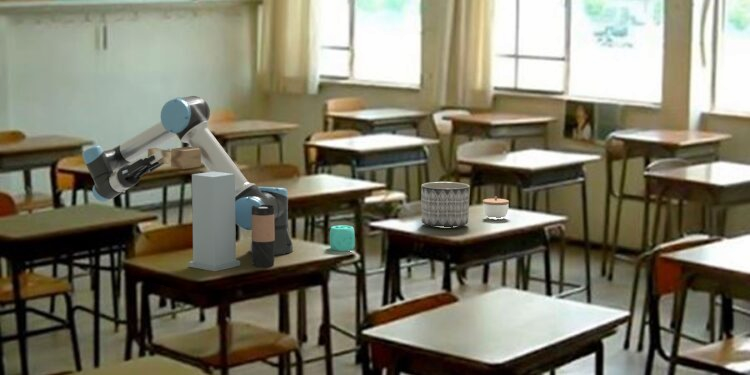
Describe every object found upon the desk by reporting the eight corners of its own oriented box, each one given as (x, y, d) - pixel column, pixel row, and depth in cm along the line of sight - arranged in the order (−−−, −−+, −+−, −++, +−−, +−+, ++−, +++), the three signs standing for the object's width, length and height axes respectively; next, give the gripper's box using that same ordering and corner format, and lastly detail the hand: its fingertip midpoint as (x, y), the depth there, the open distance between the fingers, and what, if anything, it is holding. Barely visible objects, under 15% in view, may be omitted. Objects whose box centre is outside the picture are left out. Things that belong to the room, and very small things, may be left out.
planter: (411, 226, 487) (411, 185, 485) (437, 220, 503) (438, 180, 500) (452, 232, 476) (453, 190, 474) (478, 225, 492) (478, 184, 489)
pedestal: (189, 266, 410) (187, 174, 406) (214, 260, 420) (213, 170, 415) (214, 271, 403) (213, 177, 399) (240, 265, 413) (239, 174, 408)
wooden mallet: (142, 160, 422) (142, 143, 421) (159, 158, 428) (160, 141, 427) (183, 168, 410) (183, 151, 409) (200, 166, 416) (201, 148, 415)
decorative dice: (329, 247, 445) (329, 225, 444) (351, 246, 447) (351, 225, 445) (332, 251, 438) (332, 229, 436) (354, 251, 439) (354, 228, 438)
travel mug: (271, 268, 409) (270, 208, 406) (249, 266, 410) (248, 207, 408) (277, 263, 416) (277, 205, 413) (255, 262, 418) (255, 204, 415)
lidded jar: (498, 216, 514) (499, 193, 513) (513, 220, 505) (514, 197, 504) (477, 218, 509) (477, 195, 508) (492, 222, 500) (492, 199, 499)
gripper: (146, 185, 440) (186, 160, 426) (110, 190, 427) (151, 165, 413) (139, 166, 441) (179, 140, 427) (103, 170, 428) (144, 144, 414)
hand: (165, 153), depth 420 cm, fingers closed on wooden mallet, 3 cm apart
